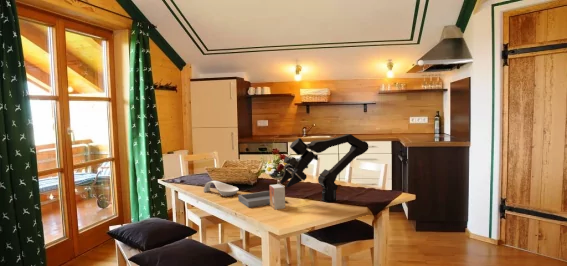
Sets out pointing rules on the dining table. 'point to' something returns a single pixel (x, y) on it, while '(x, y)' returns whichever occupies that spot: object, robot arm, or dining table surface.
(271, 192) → the small box
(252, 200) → the tray
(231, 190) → the spoon rest
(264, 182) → the dining table surface
